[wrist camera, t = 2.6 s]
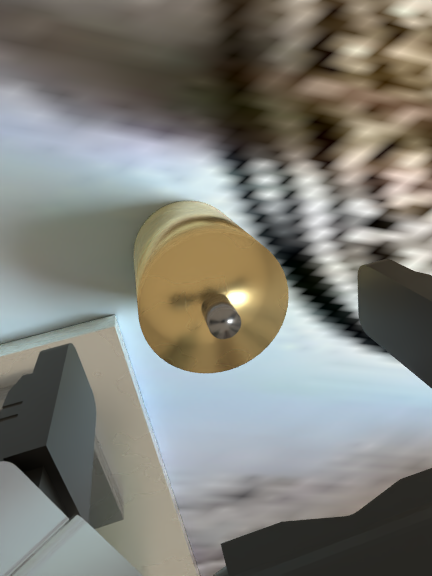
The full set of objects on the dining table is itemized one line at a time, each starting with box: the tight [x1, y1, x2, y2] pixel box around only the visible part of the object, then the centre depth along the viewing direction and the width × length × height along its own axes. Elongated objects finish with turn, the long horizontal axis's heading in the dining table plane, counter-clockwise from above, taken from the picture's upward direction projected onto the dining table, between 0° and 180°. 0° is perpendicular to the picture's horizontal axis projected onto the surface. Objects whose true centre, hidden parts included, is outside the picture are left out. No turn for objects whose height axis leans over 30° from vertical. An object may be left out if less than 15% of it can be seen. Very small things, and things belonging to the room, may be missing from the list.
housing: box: [133, 201, 288, 373], centre depth 15 cm, size 5×5×7 cm
